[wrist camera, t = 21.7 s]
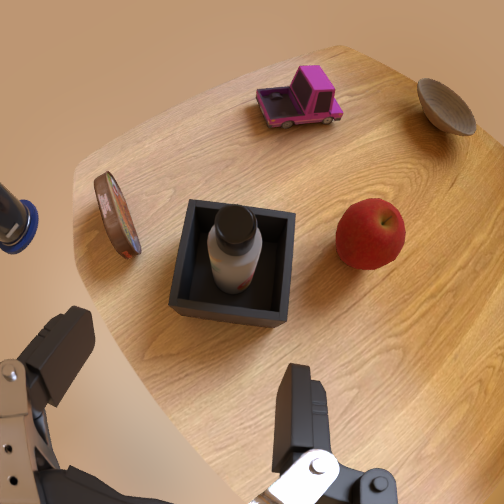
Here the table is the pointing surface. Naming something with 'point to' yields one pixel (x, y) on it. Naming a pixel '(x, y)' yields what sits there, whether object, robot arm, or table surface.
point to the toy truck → (300, 100)
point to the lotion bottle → (234, 248)
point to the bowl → (445, 108)
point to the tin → (116, 216)
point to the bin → (264, 278)
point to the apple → (370, 234)
